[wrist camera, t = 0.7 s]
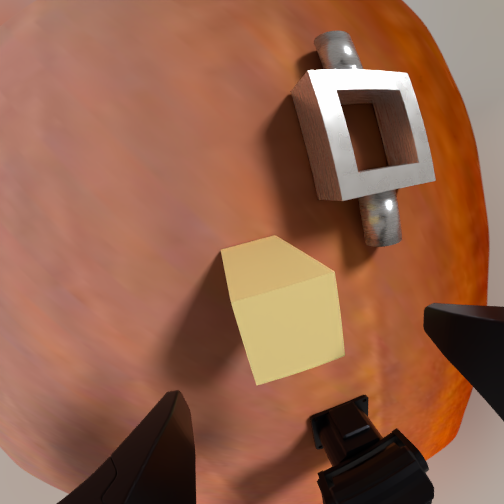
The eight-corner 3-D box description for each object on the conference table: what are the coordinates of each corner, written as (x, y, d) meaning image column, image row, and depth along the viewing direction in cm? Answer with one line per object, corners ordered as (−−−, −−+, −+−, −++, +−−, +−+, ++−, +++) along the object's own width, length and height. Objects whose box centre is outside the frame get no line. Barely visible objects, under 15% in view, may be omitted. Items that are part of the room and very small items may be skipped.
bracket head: (410, 226, 21) (441, 232, 18) (328, 251, 21) (352, 263, 17) (366, 49, 18) (389, 30, 14) (276, 48, 17) (290, 22, 13)
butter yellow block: (286, 286, 21) (344, 355, 11) (235, 301, 20) (256, 385, 11) (275, 235, 20) (334, 271, 10) (220, 249, 19) (230, 302, 10)
